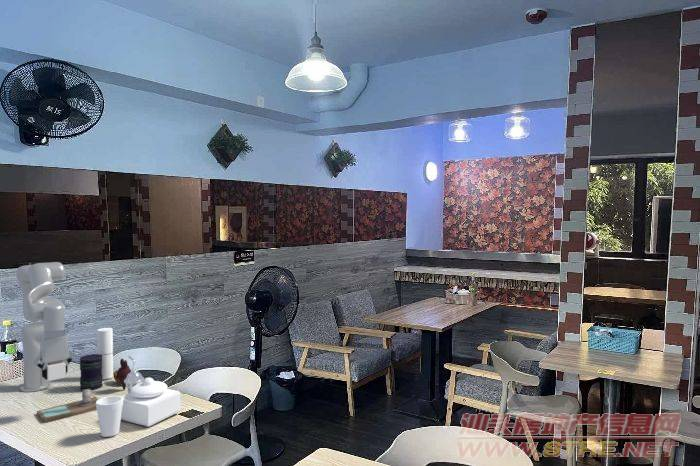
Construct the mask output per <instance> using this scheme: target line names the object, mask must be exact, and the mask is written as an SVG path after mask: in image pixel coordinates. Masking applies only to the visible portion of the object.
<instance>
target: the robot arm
mask: <svg viewBox="0 0 700 466" xmlns="http://www.w3.org/2000/svg"><path fill="white" fill-rule="evenodd" d="M65 269H66V268H65V266H64V264H63V263H61V262H59V261H52V262H37V263H33V264H28V265H27V264H26V265H22V266H19V267H18V268H17V269H16V272H15V278H16V281H17V284H18V286H19V288H20V290H21V294H22V313H23V318H24V319H25V320H27V321H30V323H27V324H24V325H23V326H22V327H21V328H20V331H19V334H20V339H21V344H22V345H21V346H22V361H23V362H22V366H23V368H22V369H23V373H22V374H23V384H22V385H21V386H20V387H19V391H21V392H24V393H32V392H33V393H34V392H39V391H40V392H41V391H43V390H45V389H48V388H49V387H50V386H51V384H52V383H51V381H48V380H47V369H46V367H47V365H48V363H50V362H56V361H61V360H62V361H63V362H64V363H66V374H67V373H68V371H69V370H68V367H69V364H70V363H71V362H72V361H73V359H75V357H76V354H75V352H73V351H71V349H70V350H69V343H68V342H69V341H68V336H67V335H66V334H68V333H69V329H66V328H65V327H66V326H65V325H66V324H65V314H66V313H65V312H66V306H65V304H64V303H63V302H62V301H60V300H59V299H58V298H46V297H47V296H49V295H51V294H52V293H53V292H54V290H55V283H54V282H58V281H62V280H63V279H64V278H65V275H66V270H65ZM44 297H45V298H44Z"/></svg>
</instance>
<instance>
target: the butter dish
mask: <svg viewBox="0 0 700 466" xmlns="http://www.w3.org/2000/svg"><path fill="white" fill-rule="evenodd" d="M120 396H121V397H123V405H122V413H121V421H125V422H128V423H133V424H136V425H140V426H144V427H148V428H149V427H151V426H153V425H155V424H157V423H159V422H161V421H163V420H166V419H167V418H170V417H171V416H174V415H175V414H177V413H179V412H181V403H182V402H181V398H182V397H181V392H180V391H179V390H174V389H171V388H168V385H167V384H166V383H165V382H163V381H158V380H154V378H152V377H145V378H144V380H143V381H142V383H139V384H137V385H135V386H133V387H132V388H131V389H130V393H126V394H124V395H120Z"/></svg>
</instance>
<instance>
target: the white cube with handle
mask: <svg viewBox="0 0 700 466" xmlns="http://www.w3.org/2000/svg"><path fill="white" fill-rule="evenodd" d="M46 369H47V381H49V382H51V381H56V380H60V379H65V378H67V373H66V363H64V362H63V361H62V360H61V361H56V362H50V363H48V365H47V367H46Z"/></svg>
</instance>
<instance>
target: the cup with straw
mask: <svg viewBox="0 0 700 466" xmlns="http://www.w3.org/2000/svg"><path fill="white" fill-rule="evenodd" d="M127 357H128V358H129V359H130V360H131V361H132V362H133V363H132V365H133V367H132V368H133V369H132V370H133V371H131V372H130V373H129V374H128V375H127V377H126V379H124V383H126V391H127V392H126V394H128V393H130V389H131V388H132V387H133V386H135V385H137V384H139V383H142V382H143V380H144V379H145V377H144V376H143V375H142V373H141V372H139V371H136V360H135V359H134V358H133V357H132V356H131V355H128V356H127Z"/></svg>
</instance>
